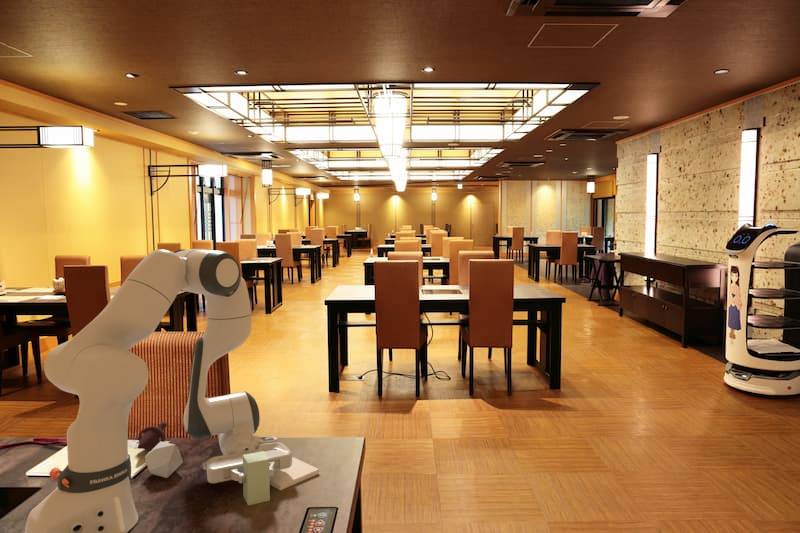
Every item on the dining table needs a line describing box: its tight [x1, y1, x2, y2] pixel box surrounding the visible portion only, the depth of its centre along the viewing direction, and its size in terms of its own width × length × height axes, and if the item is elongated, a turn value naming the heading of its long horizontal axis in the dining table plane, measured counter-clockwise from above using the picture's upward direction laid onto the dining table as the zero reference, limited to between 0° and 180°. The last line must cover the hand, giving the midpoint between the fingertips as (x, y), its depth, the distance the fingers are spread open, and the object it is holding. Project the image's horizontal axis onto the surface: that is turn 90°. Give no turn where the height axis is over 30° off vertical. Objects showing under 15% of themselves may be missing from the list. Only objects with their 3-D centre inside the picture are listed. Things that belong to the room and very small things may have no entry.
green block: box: [242, 451, 271, 506], centre depth 127 cm, size 5×5×10 cm
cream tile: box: [270, 456, 320, 491], centre depth 140 cm, size 12×12×1 cm
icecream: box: [137, 421, 168, 452], centre depth 154 cm, size 7×8×15 cm
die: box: [144, 441, 184, 479], centre depth 139 cm, size 8×9×10 cm
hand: (257, 476), depth 126 cm, fingers closed on green block, 5 cm apart
